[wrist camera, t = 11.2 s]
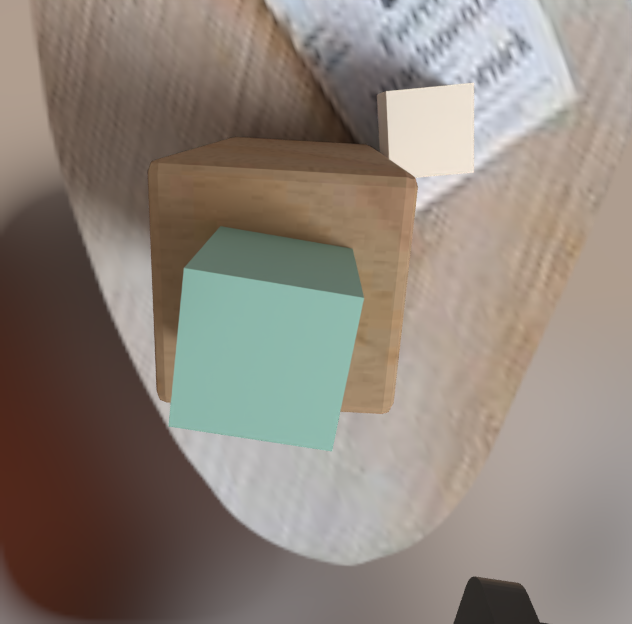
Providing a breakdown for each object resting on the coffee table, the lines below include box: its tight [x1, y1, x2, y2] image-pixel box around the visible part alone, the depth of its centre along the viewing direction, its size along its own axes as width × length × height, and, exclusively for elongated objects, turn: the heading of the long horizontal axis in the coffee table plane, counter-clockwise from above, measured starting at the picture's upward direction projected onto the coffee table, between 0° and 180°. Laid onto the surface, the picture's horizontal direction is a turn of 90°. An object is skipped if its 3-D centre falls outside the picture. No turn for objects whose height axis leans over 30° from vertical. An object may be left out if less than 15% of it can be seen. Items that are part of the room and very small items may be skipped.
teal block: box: [169, 226, 364, 451], centre depth 19 cm, size 5×5×6 cm
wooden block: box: [148, 137, 418, 414], centre depth 32 cm, size 10×10×20 cm
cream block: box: [377, 83, 474, 178], centre depth 36 cm, size 5×5×6 cm
